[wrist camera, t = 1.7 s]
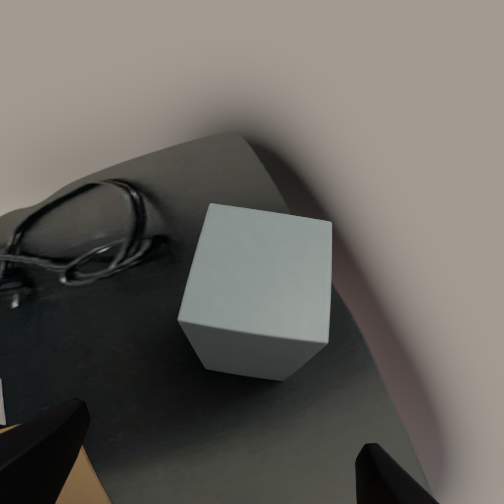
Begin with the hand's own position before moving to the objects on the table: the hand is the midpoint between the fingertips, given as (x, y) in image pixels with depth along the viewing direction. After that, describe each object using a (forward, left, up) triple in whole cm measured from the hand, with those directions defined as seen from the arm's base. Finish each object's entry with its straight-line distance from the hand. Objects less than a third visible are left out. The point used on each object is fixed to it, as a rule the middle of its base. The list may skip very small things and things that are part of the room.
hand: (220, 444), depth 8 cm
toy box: (+6, -5, -14) cm, 16 cm away
